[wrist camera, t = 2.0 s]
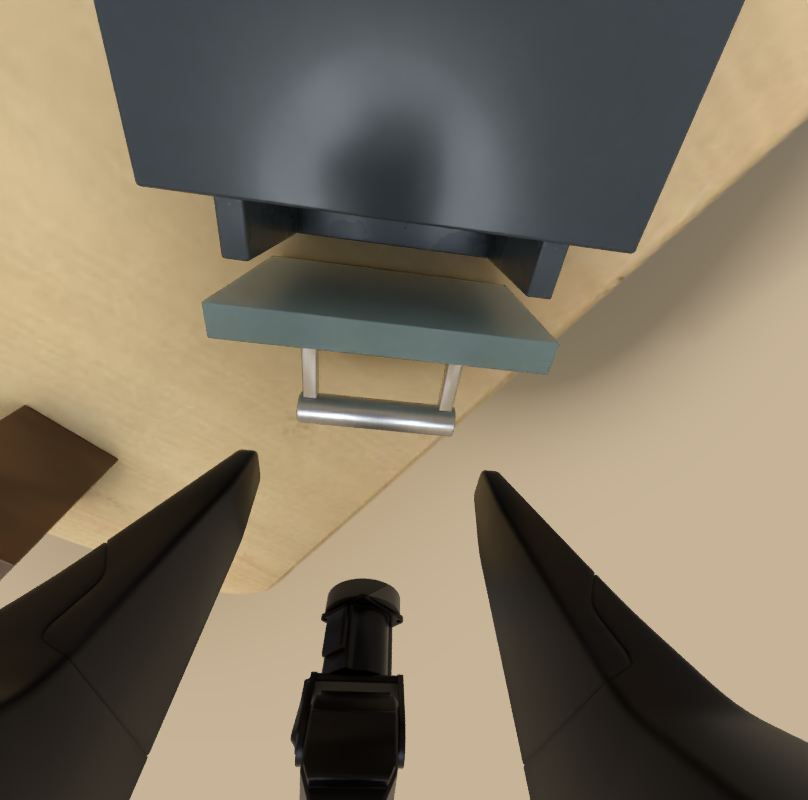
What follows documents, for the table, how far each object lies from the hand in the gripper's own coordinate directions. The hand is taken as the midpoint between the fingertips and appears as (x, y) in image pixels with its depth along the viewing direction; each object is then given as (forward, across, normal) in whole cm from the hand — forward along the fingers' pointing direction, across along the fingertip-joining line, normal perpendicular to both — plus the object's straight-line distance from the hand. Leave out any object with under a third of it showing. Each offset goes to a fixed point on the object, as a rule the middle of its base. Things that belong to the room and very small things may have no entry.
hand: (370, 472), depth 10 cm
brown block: (+12, +22, +12) cm, 28 cm away
